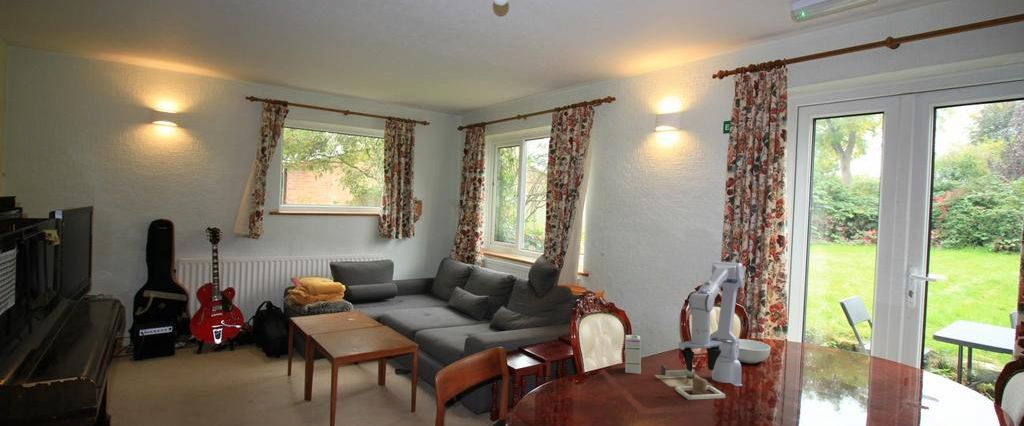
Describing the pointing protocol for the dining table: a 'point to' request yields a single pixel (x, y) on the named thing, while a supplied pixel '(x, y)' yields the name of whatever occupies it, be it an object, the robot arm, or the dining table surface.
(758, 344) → the cereal bowl
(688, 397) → the tray
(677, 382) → the crank board
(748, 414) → the dining table surface
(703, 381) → the cylinder
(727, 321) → the robot arm
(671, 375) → the crank lever
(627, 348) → the syrup box
